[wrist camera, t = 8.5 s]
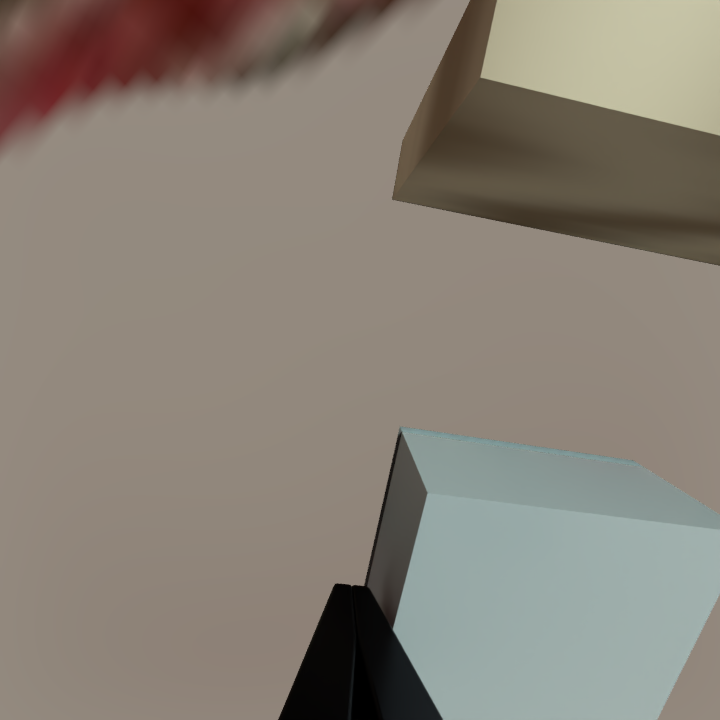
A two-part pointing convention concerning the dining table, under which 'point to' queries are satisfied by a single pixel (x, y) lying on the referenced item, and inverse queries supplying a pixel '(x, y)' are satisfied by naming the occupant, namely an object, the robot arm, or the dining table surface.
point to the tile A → (540, 578)
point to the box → (577, 122)
